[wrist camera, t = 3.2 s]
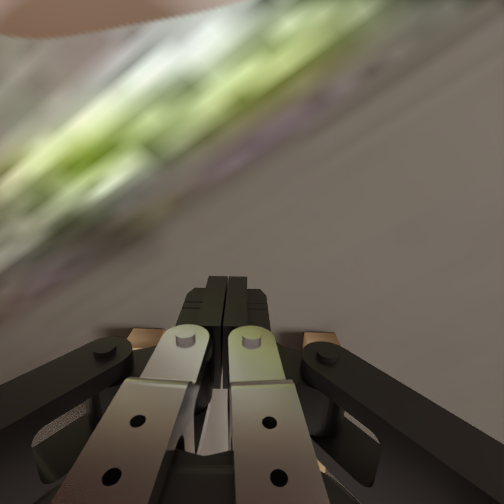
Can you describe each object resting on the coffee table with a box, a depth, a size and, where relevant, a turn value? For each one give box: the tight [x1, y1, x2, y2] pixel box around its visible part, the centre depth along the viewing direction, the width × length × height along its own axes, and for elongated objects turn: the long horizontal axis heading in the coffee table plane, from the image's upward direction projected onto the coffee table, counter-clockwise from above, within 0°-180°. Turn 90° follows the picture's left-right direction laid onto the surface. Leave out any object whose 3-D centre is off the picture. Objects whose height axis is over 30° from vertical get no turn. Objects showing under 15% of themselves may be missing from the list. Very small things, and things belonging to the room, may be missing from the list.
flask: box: [200, 369, 228, 456], centre depth 18 cm, size 7×7×10 cm
